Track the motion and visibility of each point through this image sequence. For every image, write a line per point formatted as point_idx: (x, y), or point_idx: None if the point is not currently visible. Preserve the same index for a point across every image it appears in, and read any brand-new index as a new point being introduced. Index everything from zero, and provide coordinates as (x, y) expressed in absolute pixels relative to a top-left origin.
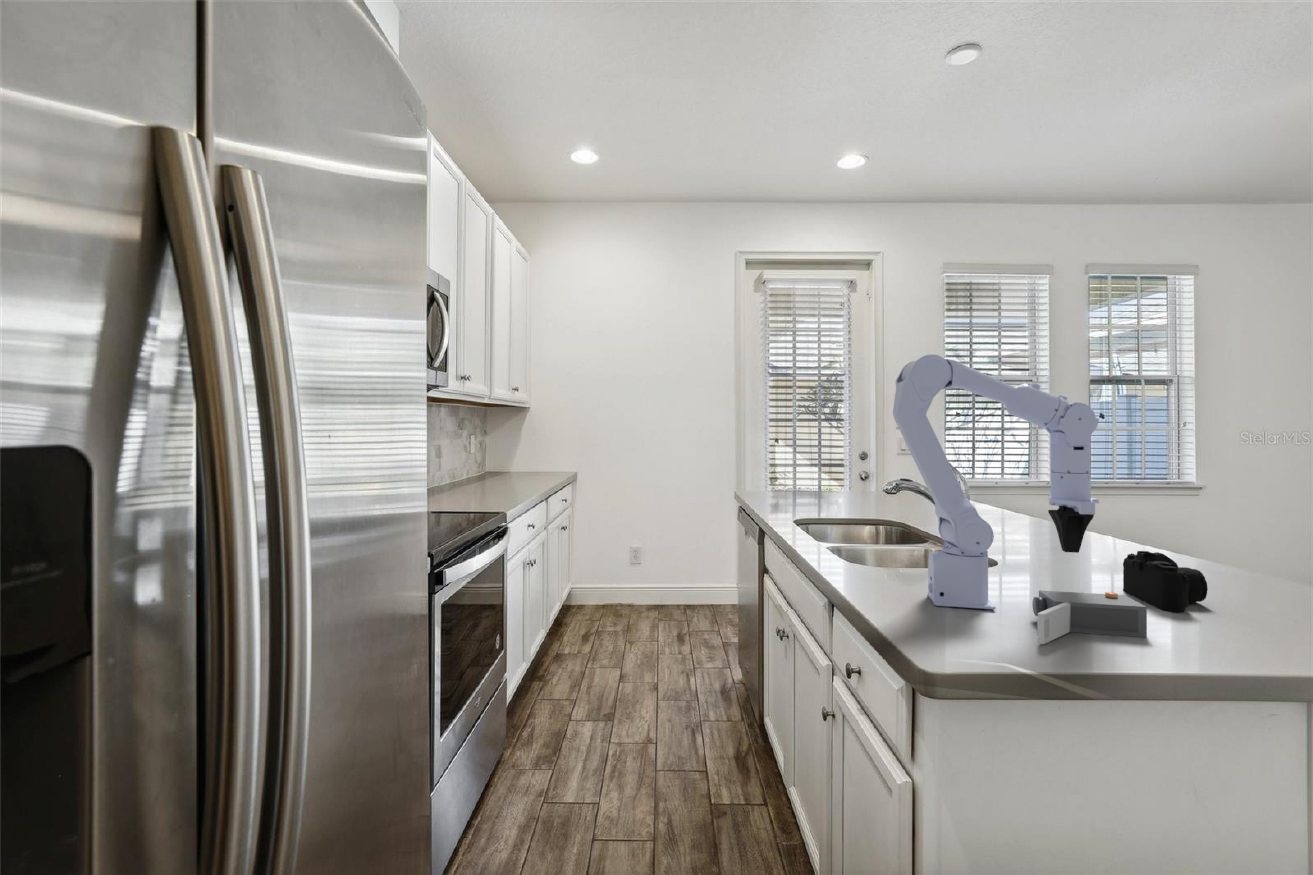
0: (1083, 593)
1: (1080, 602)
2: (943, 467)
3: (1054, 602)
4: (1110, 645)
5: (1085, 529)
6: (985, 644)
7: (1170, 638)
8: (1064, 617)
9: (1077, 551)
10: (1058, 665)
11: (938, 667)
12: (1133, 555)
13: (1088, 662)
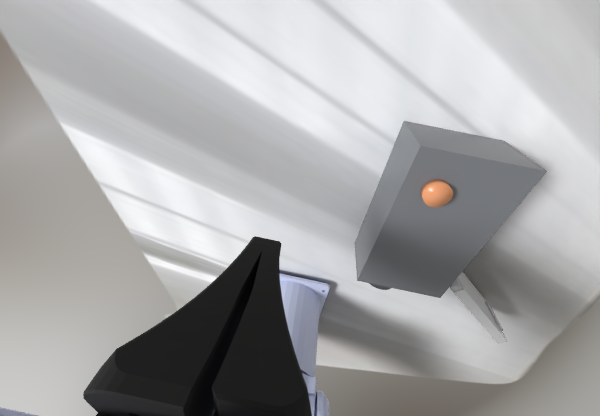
0: (390, 225)
1: (460, 269)
2: None
3: (439, 296)
4: (515, 228)
5: (285, 318)
6: (456, 335)
7: (529, 90)
8: (465, 283)
9: (280, 248)
10: (550, 316)
11: (504, 379)
12: None
13: (560, 289)
